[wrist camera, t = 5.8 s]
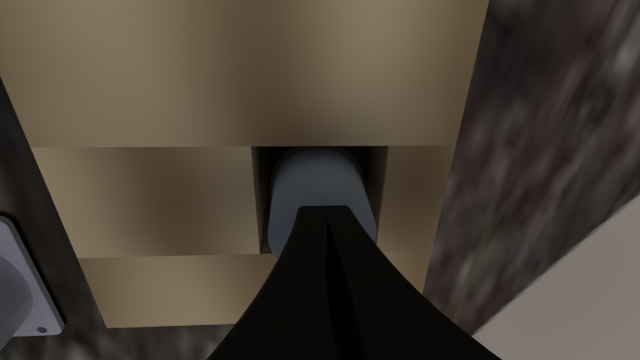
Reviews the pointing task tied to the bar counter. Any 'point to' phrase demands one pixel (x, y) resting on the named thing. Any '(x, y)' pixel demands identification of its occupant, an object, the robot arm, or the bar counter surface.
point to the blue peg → (315, 188)
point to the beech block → (229, 131)
